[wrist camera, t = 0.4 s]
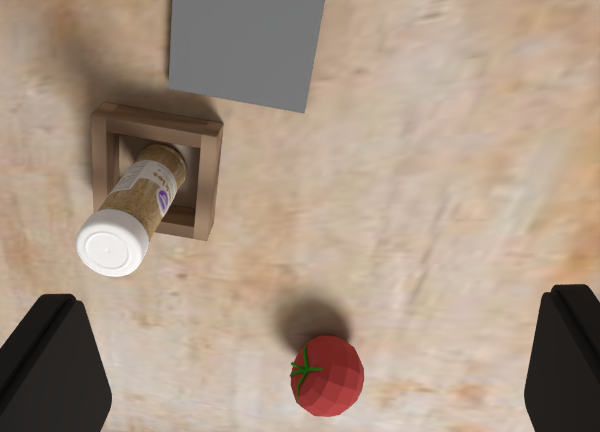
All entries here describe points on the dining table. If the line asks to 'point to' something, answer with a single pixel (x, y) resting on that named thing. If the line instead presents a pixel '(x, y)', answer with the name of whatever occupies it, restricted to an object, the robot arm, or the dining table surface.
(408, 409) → the dining table surface
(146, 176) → the spice jar
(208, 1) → the mat
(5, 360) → the robot arm
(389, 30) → the dining table surface
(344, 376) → the tomato
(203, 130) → the brown wooden square tray
